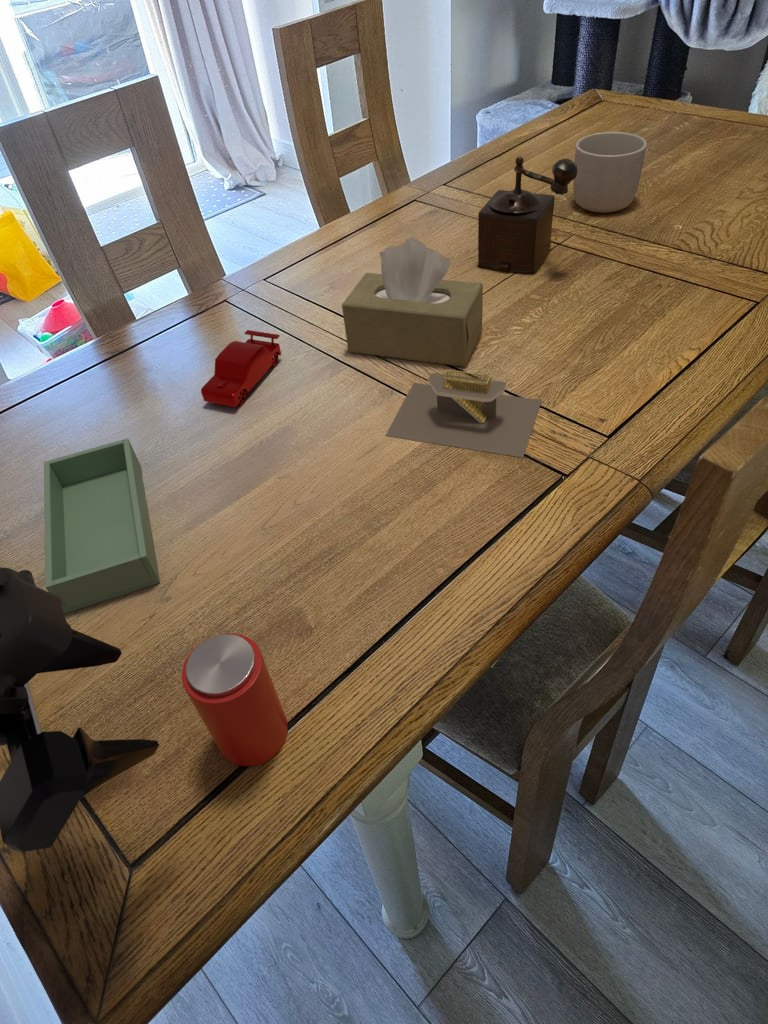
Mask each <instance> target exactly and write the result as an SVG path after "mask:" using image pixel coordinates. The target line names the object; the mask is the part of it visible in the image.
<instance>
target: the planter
mask: <svg viewBox="0 0 768 1024" xmlns="http://www.w3.org/2000/svg"><path fill="white" fill-rule="evenodd" d="M647 147H648V141H646V139H644V138H643V137H642V136H640V135H637V134H635V133H631V132H630V133H629V132H624V131H622V132H621V131H603V132H597V133H596V132H595V133H593V134H588V135H585V136H583V137H581V138H579V139H578V140H577V141H576V143H575V151H574V161H573V162H574V163H575V164H576V165H577V175H576V178H575V179H573V180H572V181H573V183H572V186H573V187H572V188H573V191H572V193H573V199H574V201H575V203H576V204H577V205H578V207H580V209H583V210H586V211H588V212H592V213H601V214H605V213H606V214H607V213H613V212H618V211H622V210H624V209H625V208H627V207H628V206H629V205H631V203H633V201H634V199H635V197H636V194H637V191H638V189H639V185H640V181H641V176H642V172H643V168H644V163H645V157H646V151H647Z"/></svg>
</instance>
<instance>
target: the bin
mask: <svg viewBox="0 0 768 1024" xmlns="http://www.w3.org/2000/svg"><path fill="white" fill-rule="evenodd" d="M43 500H44V501H43V502H44V503H43V504H44V505H43V508H44V509H43V510H44V511H43V512H44V515H43V516H44V574H45V575H44V581H45V582H44V583H45V584H44V586H45V589H46V591H47V592H50V593H52V594H54V595H57V596H59V597H60V599H61V601H62V606H61V607H62V610H63V613H64V615H65V614H68V613H72V612H75V611H78V610H81V609H84V608H87V607H89V606H93V605H96V604H99V603H102V602H105V601H108V600H111V599H114V598H117V597H121V596H124V595H127V594H130V593H133V592H136V591H140V590H142V589H146V588H149V587H152V586H155V585H158V584H161V579H160V573H159V567H158V562H157V561H158V560H157V555H156V550H155V543H154V537H153V532H152V525H151V519H150V514H149V513H150V512H149V508H148V501H147V495H146V490H145V483H144V478H143V471H142V465H141V463H140V461H139V459H138V457H137V454H136V452H135V450H134V448H133V446H132V443H131V441H130V439H129V438H124V439H120V440H117V441H113V442H110V443H106V444H103V445H99V446H95V447H92V448H88V449H85V450H82V451H78V452H74V453H70V454H67V455H63V456H60V457H56V458H52V459H49V460H45V461H44V462H43Z"/></svg>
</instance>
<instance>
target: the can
mask: <svg viewBox="0 0 768 1024" xmlns="http://www.w3.org/2000/svg"><path fill="white" fill-rule="evenodd" d="M181 683H182V686H183V688H184V690H185V692H186V694H187V695H188V698H189V699H190V701H191V702H192V704H193V706H194V708H195V709H196V711H197V713H198V715H199V716H200V719H201V720H202V722H203V724H204V726H205V727H206V729H207V730H208V733H209V734H210V736H211V738H212V739H213V741H214V743H215V745H216V747H217V748H218V750H219V752H220V754H221V755H222V757H223V758H224V759H225V760H227V761H228V762H230V763H231V764H233V765H236V766H241V767H253V766H258V765H261V764H264V763H265V762H267V761H269V760H271V759H272V758H273V757H274V756H275V755H276V754H278V752H280V750H281V749H282V747H283V745H284V743H285V742H286V739H287V736H288V733H289V723H288V719H287V716H286V714H285V711H284V708H283V706H282V703H281V701H280V698H279V695H278V693H277V690H276V687H275V685H274V682H273V680H272V677H271V675H270V672H269V669H268V666H267V664H266V662H265V659H264V656H263V654H262V652H261V649H260V647H259V645H258V644H257V643H256V641H254V640H253V639H252V638H250V637H248V636H246V635H243V634H240V633H234V632H233V633H232V632H229V633H221V634H217V635H214V636H211V637H209V638H207V639H205V640H204V641H202V642H201V643H199V644H198V645H197V646H196V647H195V648H193V650H191V652H190V653H189V655H188V656H187V658H186V660H185V662H184V664H183V666H182V670H181Z"/></svg>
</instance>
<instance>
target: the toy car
mask: <svg viewBox="0 0 768 1024" xmlns="http://www.w3.org/2000/svg"><path fill="white" fill-rule="evenodd" d="M244 335H248V336H250V338H249V339H246V341H244V342H243V341H239V340H238V341H237V340H233V341H231V342H229V343H228V344H227V345H226V346H225V347H224V348H223V349H222V350H221V351H220V352H219V354H218V355H217V356H216V357H215V359H214V374H213V375H212V377H210V379H209V380H208V381H207V382H206V383H205V384H203V386H202V387H201V389H200V393H201V397H202V399H203V402H206V403H212V404H217V405H223V406H226V407H227V406H228V407H232V408H236V407H237V406H238V405H240V406H241V405H243V404H244V403H245V402H246V398H247V394H248V393H249V392H250V391H251V390H252V389H253V388H254V387H255V386H256V384H257V383H258V382H259V381H260V379H262V377H264V375H265V374H266V373H267V371H268V370H269V369H270V368H271V367H276V366H277V365H278V364H279V359H280V356H281V355H282V350H281V347H280V343H278V342H275V340H277V339H280V334H278V333H277V334H276V333H270V332H263V331H257V330H249V329H247V330H246V331H245V332H244ZM254 337H261V338H268V339H271V341H265V340H260V339H254Z"/></svg>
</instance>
